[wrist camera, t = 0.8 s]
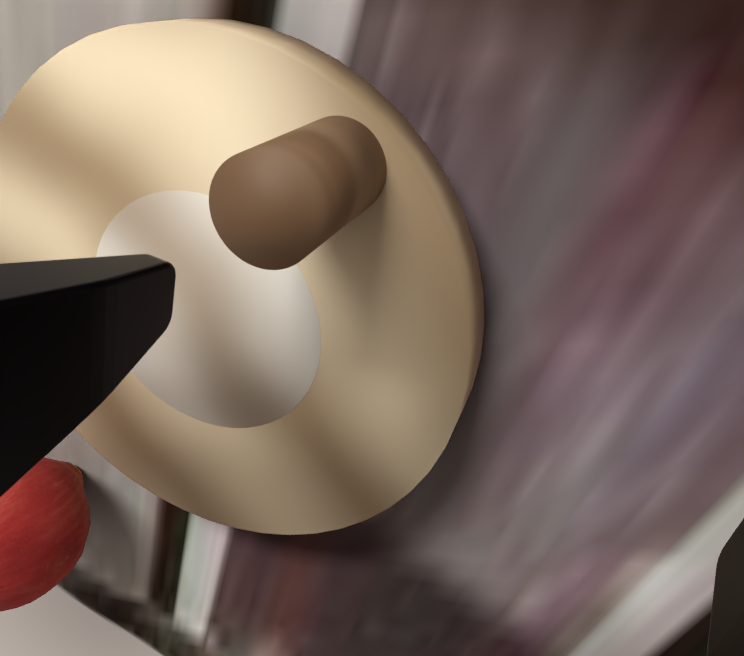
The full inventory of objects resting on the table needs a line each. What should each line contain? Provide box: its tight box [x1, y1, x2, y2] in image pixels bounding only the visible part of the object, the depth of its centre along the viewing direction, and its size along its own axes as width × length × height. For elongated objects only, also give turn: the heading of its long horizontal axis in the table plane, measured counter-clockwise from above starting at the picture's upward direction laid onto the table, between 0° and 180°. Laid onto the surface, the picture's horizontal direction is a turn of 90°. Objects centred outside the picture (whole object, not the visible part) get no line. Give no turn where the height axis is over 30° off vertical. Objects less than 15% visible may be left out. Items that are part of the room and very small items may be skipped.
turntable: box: [0, 18, 484, 535], centre depth 20 cm, size 16×16×6 cm
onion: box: [0, 457, 90, 611], centre depth 27 cm, size 6×6×8 cm
